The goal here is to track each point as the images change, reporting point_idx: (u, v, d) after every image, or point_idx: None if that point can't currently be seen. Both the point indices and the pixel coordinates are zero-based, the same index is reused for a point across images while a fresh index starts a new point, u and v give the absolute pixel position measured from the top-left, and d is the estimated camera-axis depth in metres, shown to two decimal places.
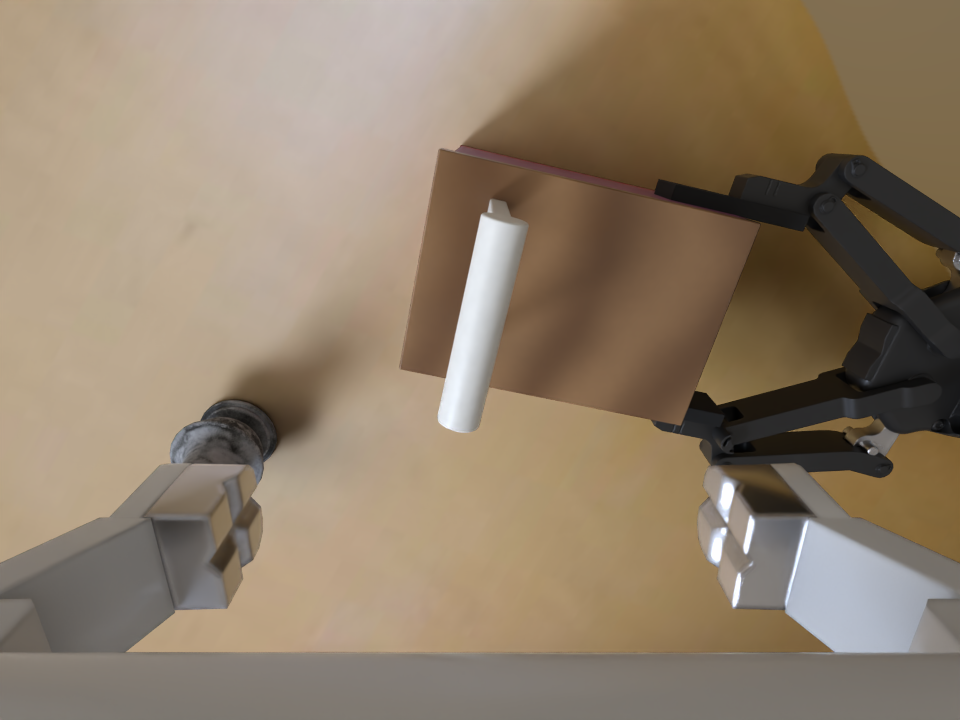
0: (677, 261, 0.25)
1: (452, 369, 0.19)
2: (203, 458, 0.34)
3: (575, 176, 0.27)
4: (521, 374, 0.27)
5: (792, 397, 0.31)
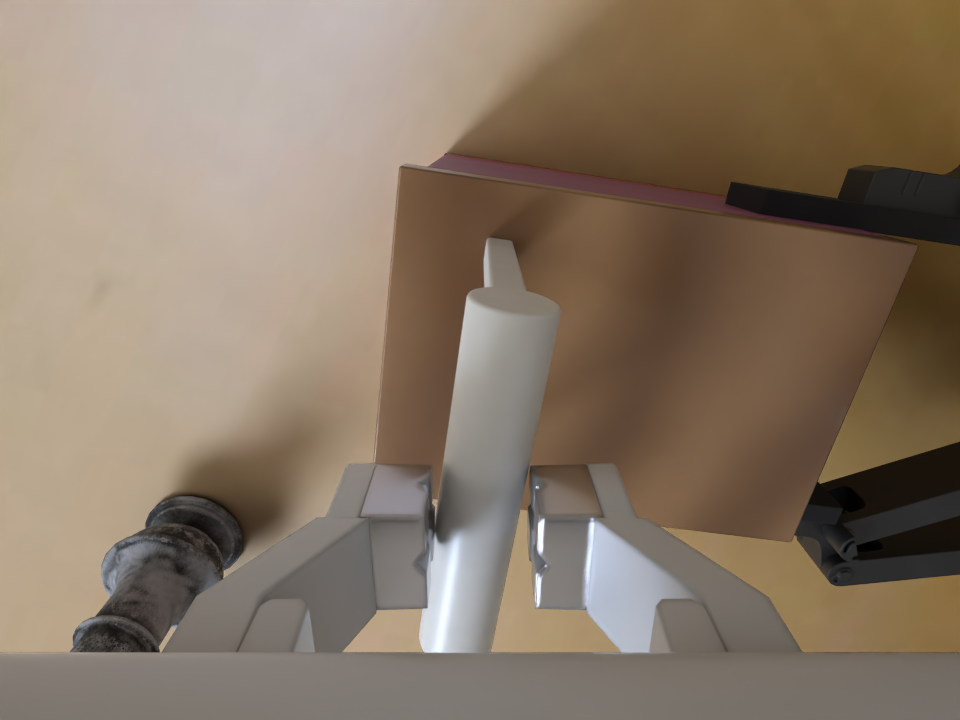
0: (784, 311, 0.16)
1: (437, 570, 0.11)
2: (136, 590, 0.26)
3: (611, 188, 0.18)
4: None
5: (933, 472, 0.22)
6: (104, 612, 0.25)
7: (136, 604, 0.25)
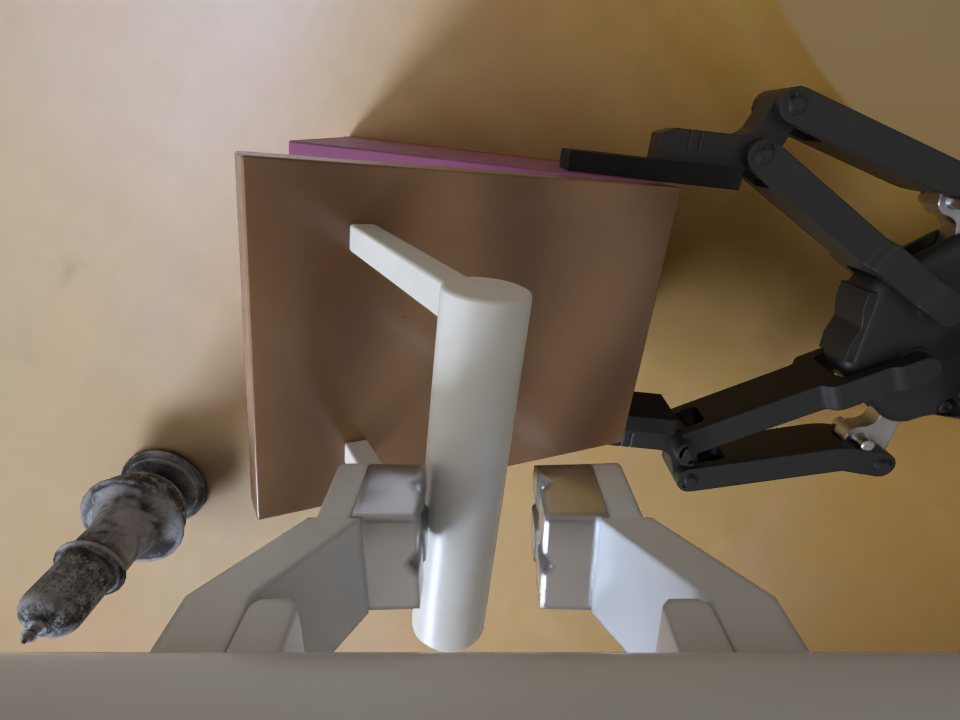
0: (602, 255, 0.19)
1: (439, 564, 0.11)
2: (107, 522, 0.31)
3: (457, 155, 0.23)
4: None
5: (761, 390, 0.26)
6: (79, 539, 0.30)
7: (105, 533, 0.30)
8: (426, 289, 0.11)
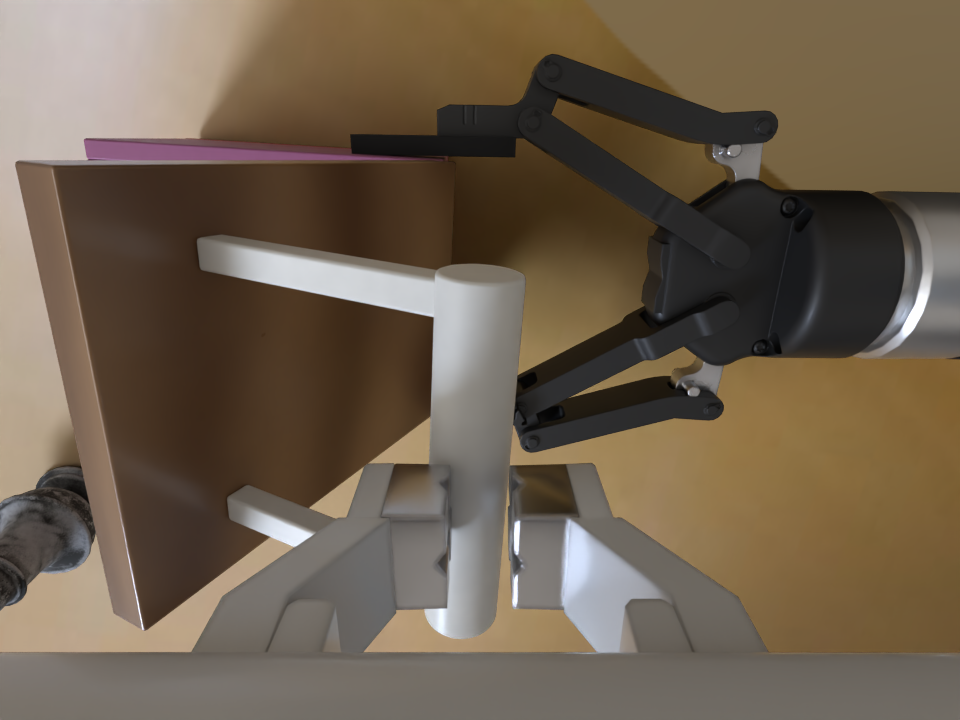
0: (412, 233, 0.19)
1: (472, 553, 0.11)
2: (8, 537, 0.32)
3: None
4: (315, 475, 0.17)
5: (589, 349, 0.27)
6: None
7: (5, 546, 0.32)
8: (391, 289, 0.10)
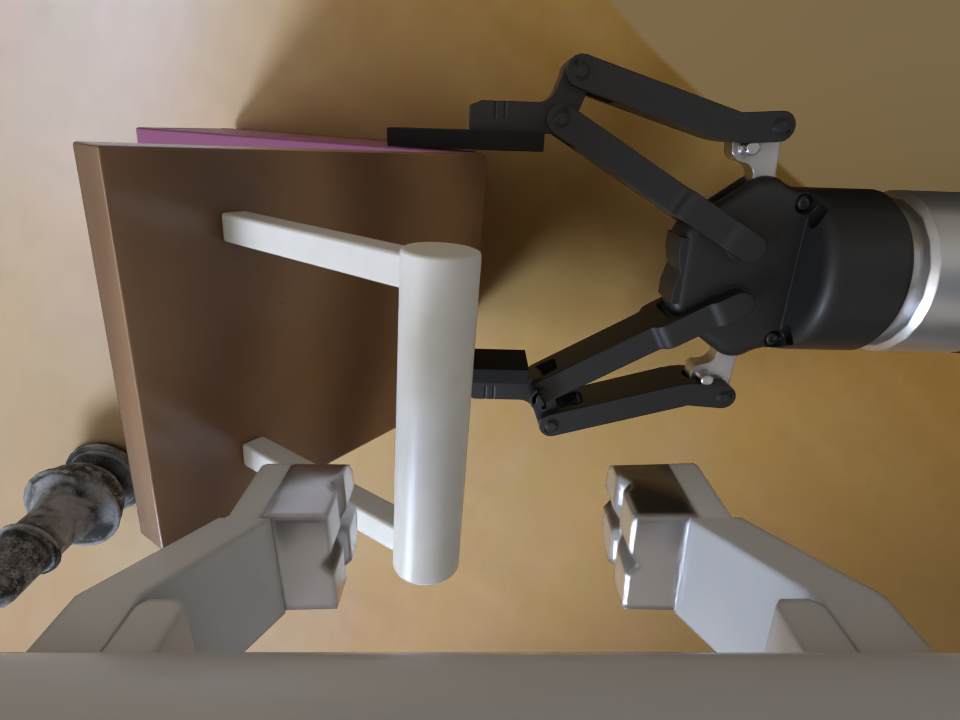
0: (438, 221, 0.21)
1: (428, 505, 0.12)
2: (43, 508, 0.34)
3: (304, 138, 0.25)
4: (329, 437, 0.19)
5: (607, 337, 0.28)
6: (16, 524, 0.33)
7: (41, 517, 0.33)
8: (367, 261, 0.11)
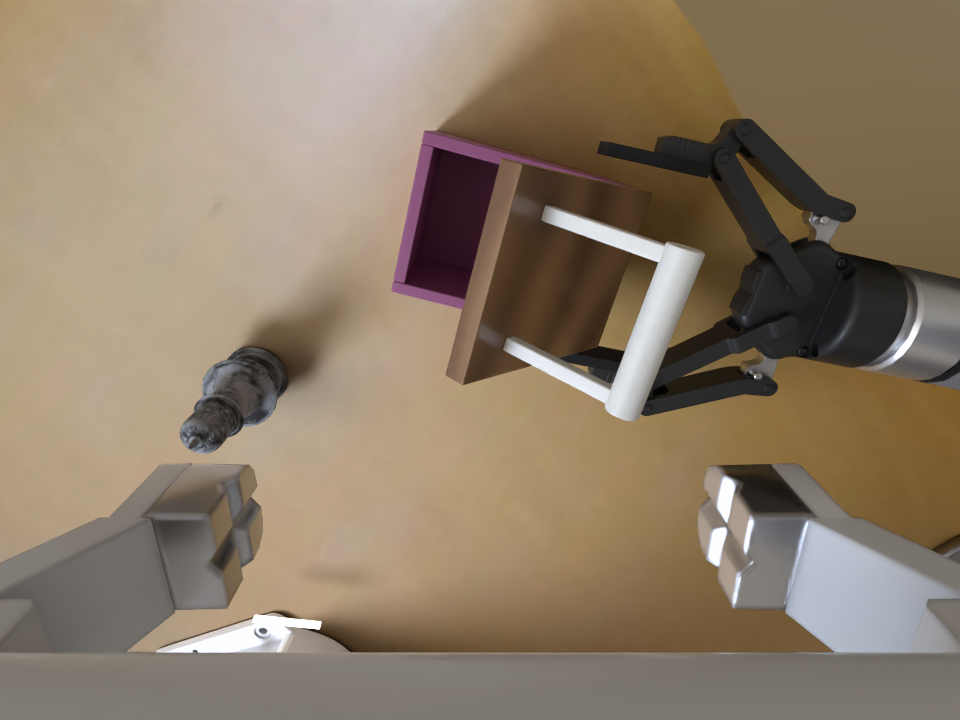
0: None
1: (643, 375, 0.23)
2: (230, 387, 0.43)
3: None
4: None
5: (692, 345, 0.41)
6: None
7: (231, 393, 0.42)
8: (641, 246, 0.23)
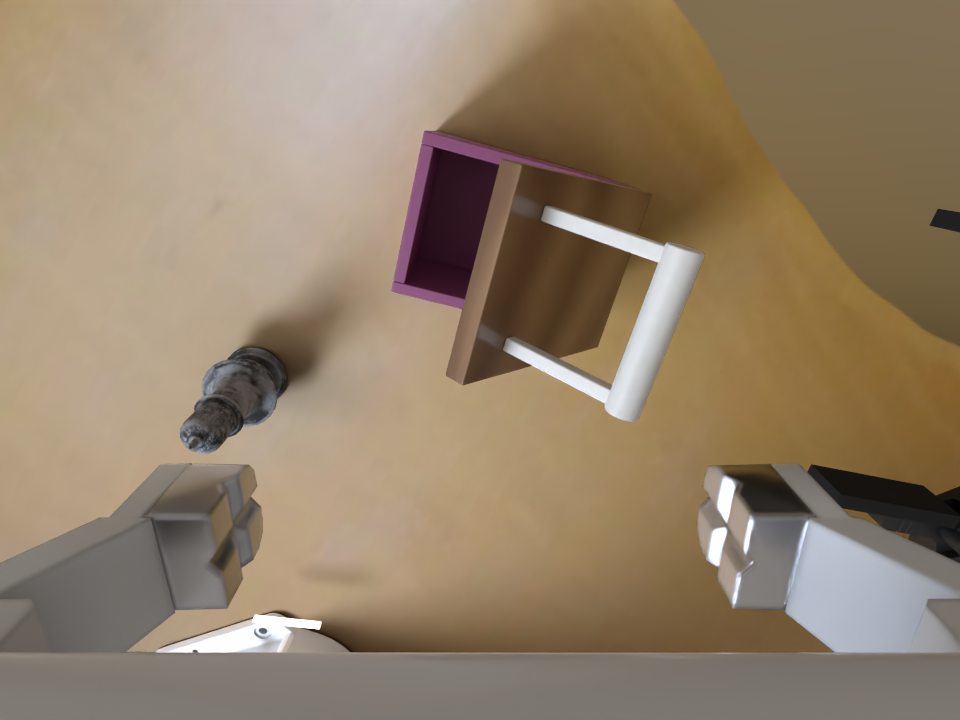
0: None
1: (643, 375, 0.23)
2: (230, 387, 0.43)
3: None
4: None
5: None
6: None
7: (231, 393, 0.42)
8: (641, 246, 0.23)
